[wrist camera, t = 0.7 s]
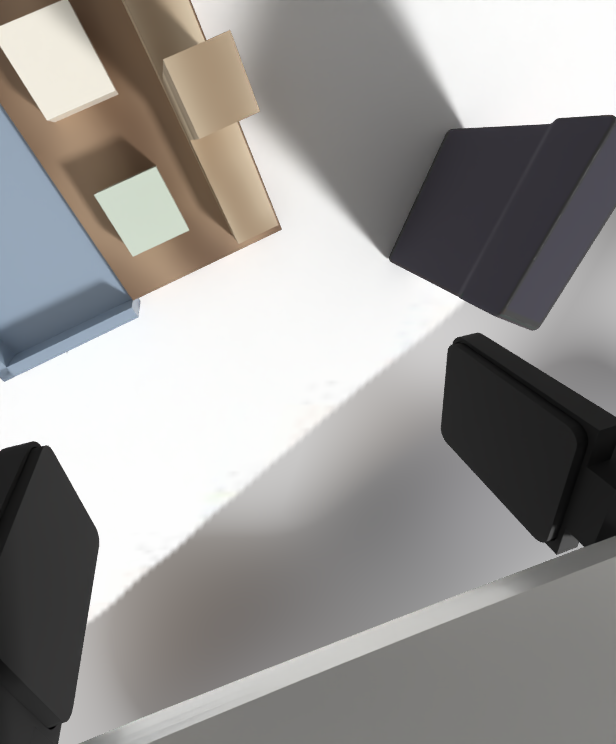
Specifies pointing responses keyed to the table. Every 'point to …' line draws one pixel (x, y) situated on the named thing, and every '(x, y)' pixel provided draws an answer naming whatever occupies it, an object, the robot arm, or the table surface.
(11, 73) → the walnut board
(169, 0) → the bent tan panel
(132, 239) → the sage tile
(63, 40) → the cream tile
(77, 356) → the table surface
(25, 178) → the box
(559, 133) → the charcoal rectangular box
